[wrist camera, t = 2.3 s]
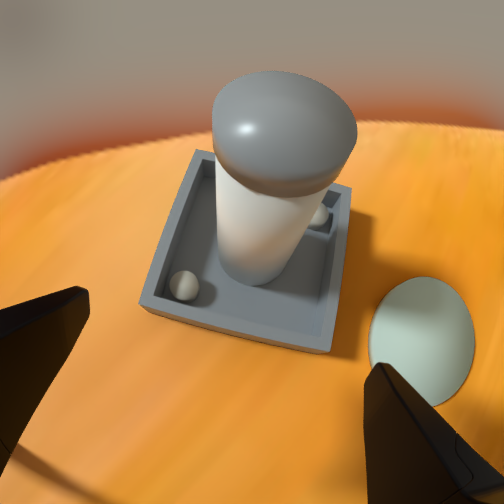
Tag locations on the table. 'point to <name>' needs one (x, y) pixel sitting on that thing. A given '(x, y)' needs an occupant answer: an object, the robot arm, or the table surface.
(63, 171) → the table surface
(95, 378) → the table surface
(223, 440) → the table surface
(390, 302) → the pad
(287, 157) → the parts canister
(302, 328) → the parts tub
